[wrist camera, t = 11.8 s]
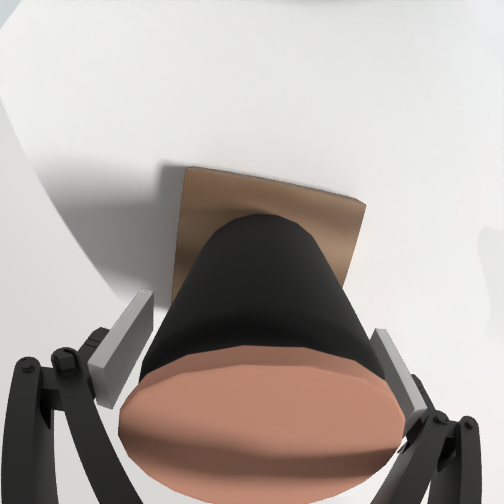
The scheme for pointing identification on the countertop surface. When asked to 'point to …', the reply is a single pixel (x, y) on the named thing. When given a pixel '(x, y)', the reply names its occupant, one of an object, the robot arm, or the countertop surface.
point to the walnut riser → (262, 202)
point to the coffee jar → (261, 377)
